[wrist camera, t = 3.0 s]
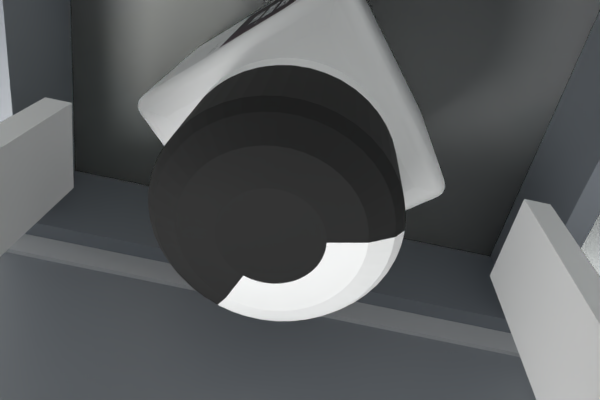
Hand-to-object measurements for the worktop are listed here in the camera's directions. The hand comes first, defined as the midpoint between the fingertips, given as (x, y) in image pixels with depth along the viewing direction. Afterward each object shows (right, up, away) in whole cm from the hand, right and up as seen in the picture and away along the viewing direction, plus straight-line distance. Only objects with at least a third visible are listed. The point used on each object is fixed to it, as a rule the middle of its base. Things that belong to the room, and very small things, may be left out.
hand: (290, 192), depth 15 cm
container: (+1, +5, +9) cm, 10 cm away
